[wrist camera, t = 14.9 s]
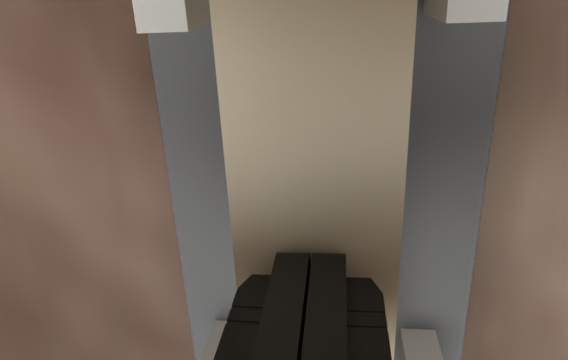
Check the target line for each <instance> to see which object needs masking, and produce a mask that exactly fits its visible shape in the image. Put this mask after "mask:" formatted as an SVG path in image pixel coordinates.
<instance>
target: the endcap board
mask: <svg viewBox="0 0 568 360" xmlns="http://www.w3.org/2000/svg"><path fill="white" fill-rule="evenodd" d="M132 4H133V11H134V17H135V23H136V30H137V33H147V37H148V43H149V50H150V57H151V64H152V70H153V77H154V84H155V91H156V97H157V104H158V111H159V118H160V124H161V131H162V138H163V145H164V151H165V158H166V165H167V172H168V178H169V185H170V192H171V199H172V205H173V212H174V219H175V226H176V232H177V239H178V246H179V253H180V259H181V266H182V273H183V280H184V286H185V293H186V300H187V307H188V313H189V320H190V327H191V334H192V340H193V347H194V354H195V360H213V359H214V356H215V353H216V350H217V347H218V344H219V342H220V339H221V336H222V333H223V330H224V327H225V324H227V318H228V315H229V312H230V309H231V308H232V303H233V300H234V297H235V294H236V291H237V286H236V275H235V265H234V255H233V244H232V234H231V223H230V213H229V203H228V192H227V182H226V172H225V161H224V151H223V141H222V130H221V120H220V110H219V99H218V89H217V78H216V68H215V58H214V47H213V37H212V27H211V16H210V6H209V0H132ZM509 7H510V0H418V2H417V17H416V32H415V47H414V63H413V78H412V93H411V108H410V123H409V139H408V154H407V169H406V184H405V199H404V215H403V230H402V245H401V260H400V275H399V290H398V306H397V321H396V336H395V351H394V360H461V354H462V347H463V339H464V332H465V325H466V318H467V310H468V303H469V296H470V289H471V282H472V274H473V267H474V260H475V253H476V246H477V238H478V231H479V224H480V217H481V209H482V202H483V195H484V188H485V181H486V173H487V166H488V159H489V152H490V145H491V137H492V130H493V123H494V116H495V108H496V101H497V94H498V87H499V80H500V72H501V65H502V58H503V51H504V44H505V36H506V29H507V22H508V15H509Z"/></svg>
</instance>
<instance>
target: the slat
mask: <svg viewBox="0 0 568 360" xmlns="http://www.w3.org/2000/svg"><path fill="white" fill-rule="evenodd" d="M417 2H418V0H209V6H210V16H211V27H212V37H213V47H214V58H215V68H216V78H217V89H218V99H219V110H220V120H221V130H222V141H223V151H224V161H225V172H226V182H227V192H228V203H229V213H230V223H231V234H232V244H233V255H234V265H235V275H236V286H237V288H238V287H239V286H240V285H241V284H243V283H244V282H245V281H246V280H247V279H248V278H249V277H250V276H251V275H252V274H258V275H271V272H272V268H273V264H274V260H275V256H276V253H277V252H295V253H310V258H311V261H312V253H340V254H346V277H359V278H371V279H372V280H373V281H374V283H375V284H376V285H377V286H378V288H379V289H380V290H381V292H382V293H383V297H384V304H385V315H386V319H387V327H388V328H387V329H388V334H389V342H390V349H391V357H392V360H394V351H395V336H396V321H397V306H398V290H399V275H400V260H401V245H402V230H403V215H404V199H405V184H406V169H407V154H408V139H409V123H410V108H411V93H412V78H413V63H414V47H415V32H416V17H417Z"/></svg>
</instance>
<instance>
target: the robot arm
mask: <svg viewBox="0 0 568 360" xmlns="http://www.w3.org/2000/svg"><path fill="white" fill-rule="evenodd" d="M387 328H388V327H387V319H386V315H385V304H384V297H383V293H382V292H381V290H380V289H379V288H378V286H377V285H376V284H375V283H374V281H373V280H372V279H371V278H359V277H346V254H340V253H312V261H311V258H310V253H295V252H277V253H276V256H275V260H274V264H273V268H272V272H271V275H258V274H252V275H251V276H250V277H249V278H248V279H247V280H246V281H245V282H244V283H243V284H241V285H240V286H239V287H238V288H237V291H236V294H235V297H234V300H233V303H232V308H231V309H230V312H229V315H228V318H227V324H225V327H224V330H223V333H222V336H221V339H220V342H219V344H218V347H217V350H216V353H215V356H214V359H213V360H392V357H391V349H390V342H389V334H388V329H387Z"/></svg>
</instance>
